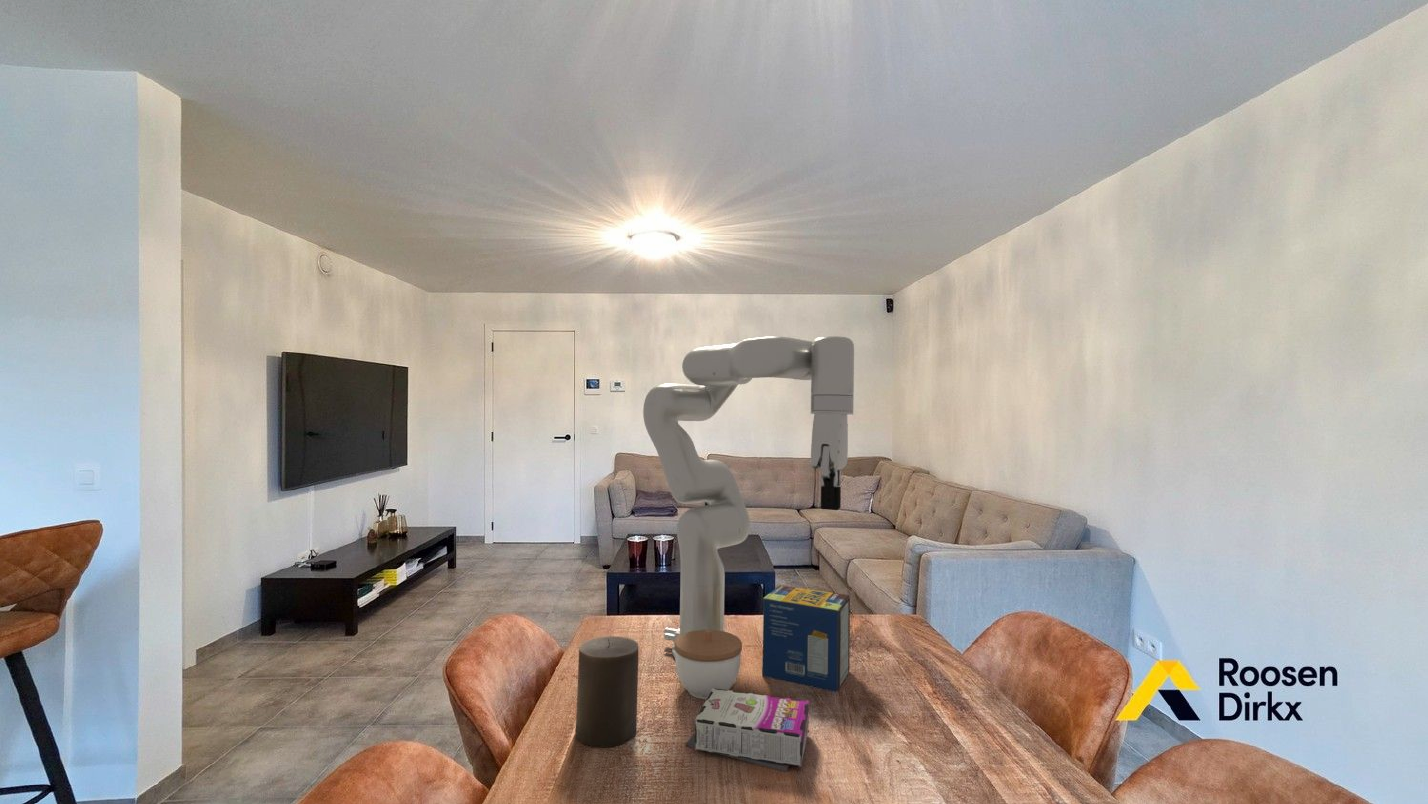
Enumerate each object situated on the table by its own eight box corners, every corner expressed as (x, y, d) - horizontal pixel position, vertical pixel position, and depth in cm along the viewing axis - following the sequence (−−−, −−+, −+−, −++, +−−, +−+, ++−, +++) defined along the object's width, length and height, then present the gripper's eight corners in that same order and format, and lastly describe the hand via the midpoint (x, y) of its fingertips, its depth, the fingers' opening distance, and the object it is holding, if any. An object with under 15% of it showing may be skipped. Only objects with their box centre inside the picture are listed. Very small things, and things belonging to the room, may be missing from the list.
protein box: (777, 657, 127) (779, 584, 127) (850, 671, 120) (851, 594, 121) (760, 676, 117) (761, 597, 118) (838, 693, 111) (839, 609, 111)
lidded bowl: (747, 704, 106) (748, 642, 106) (677, 709, 104) (678, 645, 104) (733, 674, 118) (734, 618, 118) (670, 677, 116) (671, 620, 116)
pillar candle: (610, 754, 89) (614, 653, 90) (562, 736, 94) (566, 640, 95) (648, 726, 98) (651, 634, 98) (602, 711, 103) (605, 623, 103)
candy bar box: (809, 731, 96) (711, 715, 101) (810, 699, 96) (712, 685, 101) (801, 770, 86) (692, 750, 90) (802, 735, 86) (693, 717, 90)
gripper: (820, 406, 115) (819, 502, 114) (800, 405, 101) (799, 513, 100) (860, 407, 112) (858, 505, 111) (845, 405, 98) (843, 516, 98)
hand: (830, 508), depth 106 cm, fingers closed
